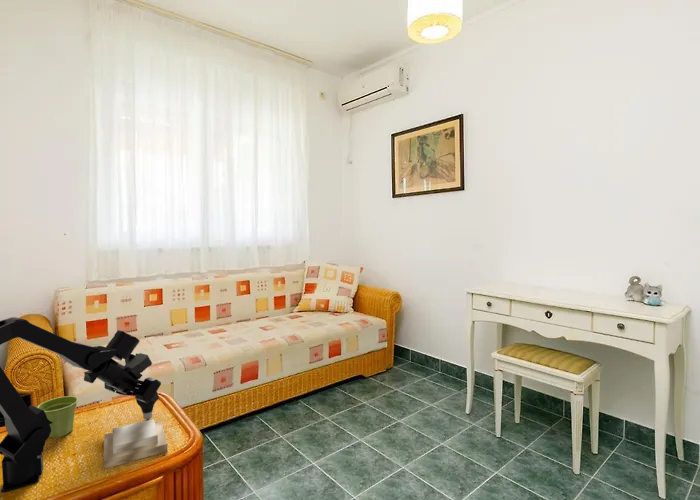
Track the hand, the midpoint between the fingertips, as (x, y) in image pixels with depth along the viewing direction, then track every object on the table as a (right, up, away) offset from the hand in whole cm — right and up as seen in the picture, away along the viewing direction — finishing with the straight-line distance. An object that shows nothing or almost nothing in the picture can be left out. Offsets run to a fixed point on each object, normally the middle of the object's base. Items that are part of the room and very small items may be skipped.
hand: (151, 396), depth 118 cm
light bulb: (-1, -7, -1) cm, 7 cm away
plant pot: (-22, -7, -8) cm, 25 cm away
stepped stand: (+3, -8, -15) cm, 17 cm away
